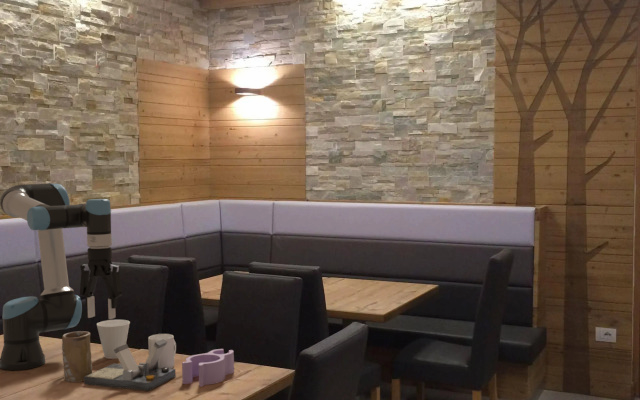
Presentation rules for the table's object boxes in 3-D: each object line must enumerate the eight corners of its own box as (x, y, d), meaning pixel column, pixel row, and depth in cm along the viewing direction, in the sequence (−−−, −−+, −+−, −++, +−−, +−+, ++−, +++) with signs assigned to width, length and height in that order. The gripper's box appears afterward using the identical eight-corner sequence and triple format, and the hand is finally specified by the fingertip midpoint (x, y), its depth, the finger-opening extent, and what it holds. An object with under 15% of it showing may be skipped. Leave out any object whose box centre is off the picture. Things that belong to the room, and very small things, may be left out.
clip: (212, 367, 255) (212, 347, 254) (243, 371, 249) (242, 351, 248) (176, 383, 237) (175, 361, 237) (207, 388, 231) (207, 366, 231)
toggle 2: (141, 368, 241) (154, 342, 239) (149, 364, 246) (163, 338, 244) (146, 372, 241) (159, 345, 239) (154, 368, 246) (167, 342, 243)
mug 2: (185, 363, 259) (185, 333, 259) (163, 372, 249) (162, 340, 248) (167, 360, 264) (166, 330, 263) (143, 368, 253) (142, 338, 253)
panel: (84, 384, 237) (83, 367, 236) (114, 370, 252) (114, 354, 252) (148, 390, 229) (148, 373, 228) (176, 375, 244) (176, 359, 244)
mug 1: (77, 384, 237) (75, 338, 236) (49, 379, 243) (47, 334, 242) (97, 376, 245) (96, 332, 244) (70, 371, 251) (68, 328, 250)
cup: (91, 357, 270) (90, 323, 269) (118, 350, 279) (117, 318, 278) (109, 362, 262) (108, 328, 261) (137, 355, 271) (136, 322, 270)
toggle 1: (128, 379, 233) (113, 350, 234) (137, 375, 237) (122, 346, 239) (133, 377, 232) (117, 347, 233) (141, 372, 237) (127, 343, 238)
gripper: (66, 247, 236) (68, 318, 237) (119, 249, 230) (121, 321, 231) (80, 244, 243) (83, 313, 245) (133, 246, 237) (135, 317, 238)
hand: (101, 317), depth 238 cm, fingers open, 7 cm apart
